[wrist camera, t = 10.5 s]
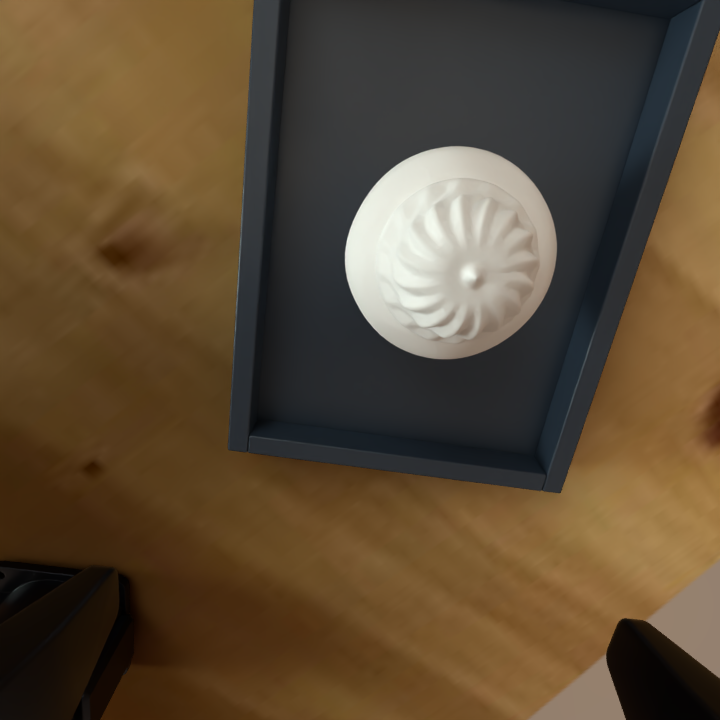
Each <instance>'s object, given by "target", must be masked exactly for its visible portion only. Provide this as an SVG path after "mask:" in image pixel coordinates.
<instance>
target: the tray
mask: <svg viewBox="0 0 720 720" xmlns="http://www.w3.org/2000/svg"><path fill="white" fill-rule="evenodd" d="M719 31H720V0H254V9H253V26H252V43H251V60H250V77H249V95H248V112H247V129H246V146H245V163H244V180H243V197H242V215H241V232H240V249H239V266H238V283H237V300H236V317H235V334H234V352H233V369H232V386H231V403H230V420H229V437H228V450H232V451H239V452H247V451H248V452H249V453H254V454H262V455H269V456H277V457H285V458H292V459H300V460H308V461H315V462H323V463H331V464H338V465H346V466H354V467H361V468H369V469H377V470H384V471H392V472H400V473H407V474H415V475H423V476H430V477H438V478H446V479H453V480H461V481H469V482H476V483H484V484H491V485H499V486H507V487H514V488H522V489H530V490H537V491H541V490H542V491H546V492H553V493H561V490H562V487H563V484H564V482H565V479H566V476H567V473H568V470H569V467H570V464H571V461H572V458H573V455H574V452H575V450H576V447H577V444H578V441H579V438H580V435H581V432H582V429H583V426H584V423H585V420H586V417H587V415H588V412H589V409H590V406H591V403H592V400H593V397H594V394H595V391H596V388H597V385H598V383H599V380H600V377H601V374H602V371H603V368H604V365H605V362H606V359H607V356H608V353H609V351H610V348H611V345H612V342H613V339H614V336H615V333H616V330H617V327H618V324H619V321H620V319H621V316H622V313H623V310H624V307H625V304H626V301H627V298H628V295H629V292H630V289H631V287H632V284H633V281H634V278H635V275H636V272H637V269H638V266H639V263H640V260H641V257H642V255H643V252H644V249H645V246H646V243H647V240H648V237H649V234H650V231H651V228H652V225H653V223H654V220H655V217H656V214H657V211H658V208H659V205H660V202H661V199H662V196H663V193H664V191H665V188H666V185H667V182H668V179H669V176H670V173H671V170H672V167H673V164H674V161H675V159H676V156H677V153H678V150H679V147H680V144H681V141H682V138H683V135H684V132H685V129H686V127H687V124H688V121H689V118H690V115H691V112H692V109H693V106H694V103H695V100H696V97H697V95H698V92H699V89H700V86H701V83H702V80H703V77H704V74H705V71H706V68H707V65H708V63H709V60H710V57H711V54H712V51H713V48H714V45H715V42H716V39H717V36H718V33H719ZM450 146H464V147H473V148H478V149H482V150H486V151H489V152H492V153H494V154H497V155H499V156H501V157H503V158H504V159H506V160H508V161H510V162H511V163H513V164H514V165H515V166H517V167H518V168H519V169H520V170H521V171H523V172H524V173H525V174H526V175H527V176H528V177H529V178H530V180H531V181H532V182H533V183H534V184H535V186H536V187H537V188H538V190H539V191H540V193H541V195H542V196H543V198H544V200H545V202H546V204H547V206H548V208H549V211H550V213H551V216H552V219H553V223H554V227H555V232H556V240H557V256H556V263H555V269H554V273H553V277H552V280H551V283H550V286H549V288H548V290H547V293H546V294H545V296H544V298H543V300H542V302H541V303H540V305H539V307H538V308H537V309H536V311H535V312H534V314H533V315H532V316H531V317H530V319H529V320H528V321H527V322H526V323H525V324H524V325H523V326H522V327H521V328H520V329H519V330H517V331H516V332H515V333H514V334H513V335H511V336H510V337H509V338H507V339H506V340H504V341H503V342H501V343H499V344H498V345H496V346H494V347H492V348H490V349H488V350H486V351H483V352H480V353H478V354H475V355H472V356H468V357H463V358H457V359H432V358H426V357H422V356H418V355H415V354H412V353H409V352H407V351H405V350H402V349H400V348H398V347H397V346H395V345H393V344H392V343H390V342H389V341H387V340H386V339H385V338H384V337H382V336H381V335H380V334H379V333H378V332H377V331H376V330H375V329H374V328H373V327H372V326H371V324H370V323H369V322H368V321H367V320H366V318H365V317H364V315H363V314H362V312H361V310H360V309H359V307H358V305H357V303H356V302H355V299H354V297H353V295H352V292H351V290H350V287H349V283H348V280H347V275H346V269H345V250H346V243H347V238H348V235H349V231H350V228H351V225H352V223H353V220H354V218H355V216H356V214H357V212H358V210H359V208H360V206H361V204H362V203H363V201H364V199H365V198H366V196H367V195H368V194H369V192H370V191H371V189H372V188H373V187H374V186H375V184H376V183H377V182H378V181H379V180H380V179H381V178H382V177H383V176H384V175H385V174H386V173H387V172H389V171H390V170H391V169H392V168H394V167H395V166H396V165H398V164H399V163H401V162H402V161H404V160H406V159H408V158H410V157H412V156H414V155H416V154H419V153H421V152H424V151H428V150H431V149H436V148H442V147H450Z"/></svg>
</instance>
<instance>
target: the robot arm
mask: <svg viewBox="0 0 720 720" xmlns="http://www.w3.org/2000/svg"><path fill="white" fill-rule="evenodd" d="M133 654H134V632H133V618H132V616H131V614H130V607H129V582H128V580H127V578H126V577H124V576H123V575H119V574H118V572H117V570H116V568H114V567H107V566H97V565H93V566H90V567H88V568H86V569H84V570H78V569H70V568H61V567H53V566H44V565H36V564H27V563H19V562H10V561H0V720H100V719H101V717H102V715H103V713H104V711H105V709H106V707H107V705H108V703H109V701H110V699H111V697H112V695H113V693H114V691H115V689H116V687H117V685H118V684H119V682H120V680H121V678H122V676H123V675H124V674H125V673H127V671H128V669H129V667H130V664H131V658H132V656H133ZM606 659H607V665H608V668H609V671H610V674H611V677H612V680H613V683H614V686H615V689H616V692H617V695H618V697H619V701H620V703H621V706H622V709H623V712H624V715H625V718H626V720H720V678H718V677H717V676H716V675H714V674H713V673H711V671H709V670H708V669H707V668H706V667H704V666H703V665H702V664H700V663H699V662H698V661H697V660H695V659H694V658H693V657H692V656H690V655H689V654H688V653H686V652H685V651H684V650H683V649H681V648H680V647H679V646H677V645H676V644H675V643H674V642H672V641H671V640H670V639H669V638H667V637H666V636H665V635H663V634H662V633H661V632H660V631H658V630H657V629H656V628H655V627H653V626H652V625H651V624H649V623H648V622H646V621H643V620H637V619H627V618H624V619H622V620H620V621H619V622H618V624H617V626H616V629H615V631H614V634H613V636H612V639H611V641H610V644H609V646H608V648H607V653H606Z"/></svg>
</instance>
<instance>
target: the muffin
mask: <svg viewBox="0 0 720 720" xmlns="http://www.w3.org/2000/svg"><path fill="white" fill-rule="evenodd" d="M556 256H557V240H556V232H555V227H554V223H553V219H552V216H551V213H550V211H549V208H548V206H547V204H546V202H545V200H544V198H543V196H542V195H541V193H540V191H539V190H538V188H537V187H536V186H535V184H534V183H533V182H532V181H531V180H530V178H529V177H528V176H527V175H526V174H525V173H524V172H523V171H521V170H520V169H519V168H518V167H517V166H515V165H514V164H513V163H511V162H510V161H508V160H506V159H504V158H503V157H501V156H499V155H497V154H494V153H492V152H489V151H486V150H482V149H478V148H473V147H464V146H450V147H442V148H436V149H431V150H428V151H424V152H421V153H419V154H416V155H414V156H412V157H410V158H408V159H406V160H404V161H402V162H401V163H399V164H398V165H396V166H395V167H394V168H392V169H391V170H390V171H389V172H387V173H386V174H385V175H384V176H383V177H382V178H381V179H380V180H379V181H378V182H377V183H376V184H375V186H374V187H373V188H372V189H371V191H370V192H369V194H368V195H367V196H366V198H365V199H364V201H363V203H362V204H361V206H360V208H359V210H358V212H357V214H356V216H355V218H354V220H353V223H352V225H351V228H350V231H349V235H348V238H347V243H346V250H345V269H346V275H347V280H348V283H349V287H350V290H351V292H352V295H353V297H354V299H355V302H356V303H357V305H358V307H359V309H360V310H361V312H362V314H363V315H364V317H365V318H366V320H367V321H368V322H369V323H370V324H371V326H372V327H373V328H374V329H375V330H376V331H377V332H378V333H379V334H380V335H381V336H382V337H384V338H385V339H386V340H387V341H389V342H390V343H392V344H393V345H395V346H397V347H398V348H400V349H402V350H405V351H407V352H409V353H412V354H415V355H418V356H422V357H426V358H432V359H457V358H463V357H468V356H472V355H475V354H478V353H480V352H483V351H486V350H488V349H490V348H492V347H494V346H496V345H498V344H499V343H501V342H503V341H504V340H506V339H507V338H509V337H510V336H511V335H513V334H514V333H515V332H516V331H517V330H519V329H520V328H521V327H522V326H523V325H524V324H525V323H526V322H527V321H528V320H529V319H530V317H531V316H532V315H533V314H534V312H535V311H536V309H537V308H538V307H539V305H540V303H541V302H542V300H543V298H544V296H545V294H546V293H547V290H548V288H549V286H550V283H551V280H552V277H553V273H554V269H555V263H556Z"/></svg>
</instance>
